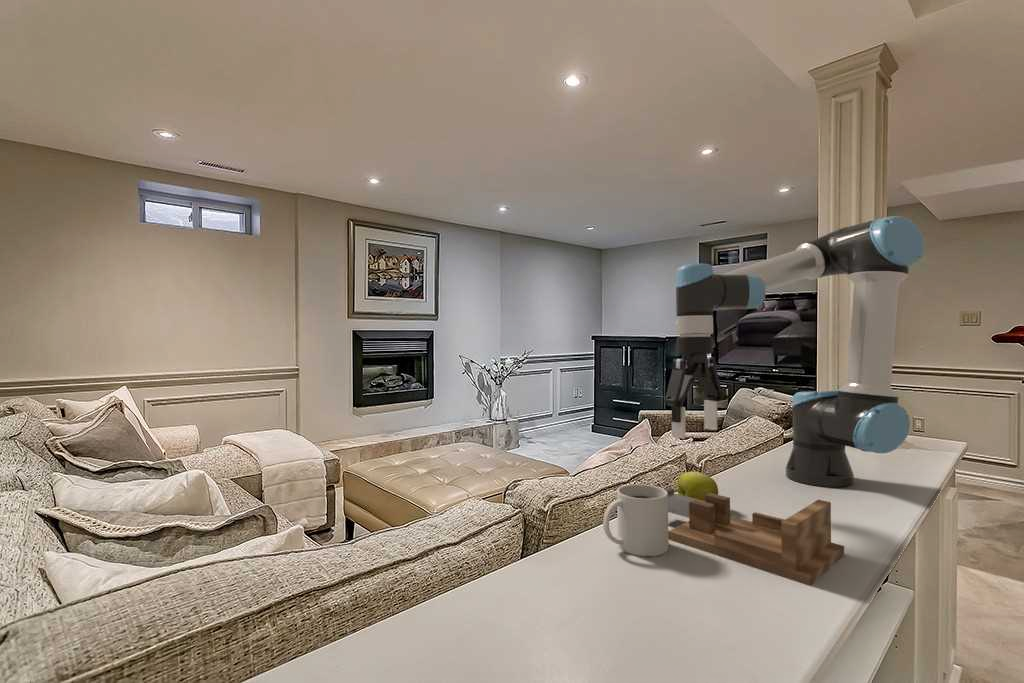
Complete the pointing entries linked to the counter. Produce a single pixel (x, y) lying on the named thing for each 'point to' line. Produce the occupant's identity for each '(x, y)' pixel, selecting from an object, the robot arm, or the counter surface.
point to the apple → (696, 485)
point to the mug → (640, 520)
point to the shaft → (679, 503)
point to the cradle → (764, 538)
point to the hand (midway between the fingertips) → (695, 433)
